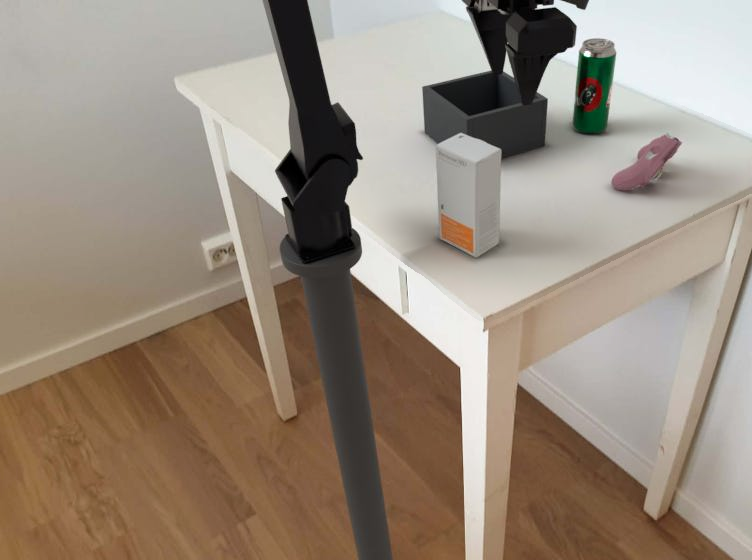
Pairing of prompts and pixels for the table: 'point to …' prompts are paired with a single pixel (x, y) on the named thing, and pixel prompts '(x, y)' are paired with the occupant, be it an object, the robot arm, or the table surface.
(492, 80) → the dark grey open bin
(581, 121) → the soda can
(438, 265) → the table surface
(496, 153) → the cosmetic box
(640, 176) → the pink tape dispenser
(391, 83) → the table surface
